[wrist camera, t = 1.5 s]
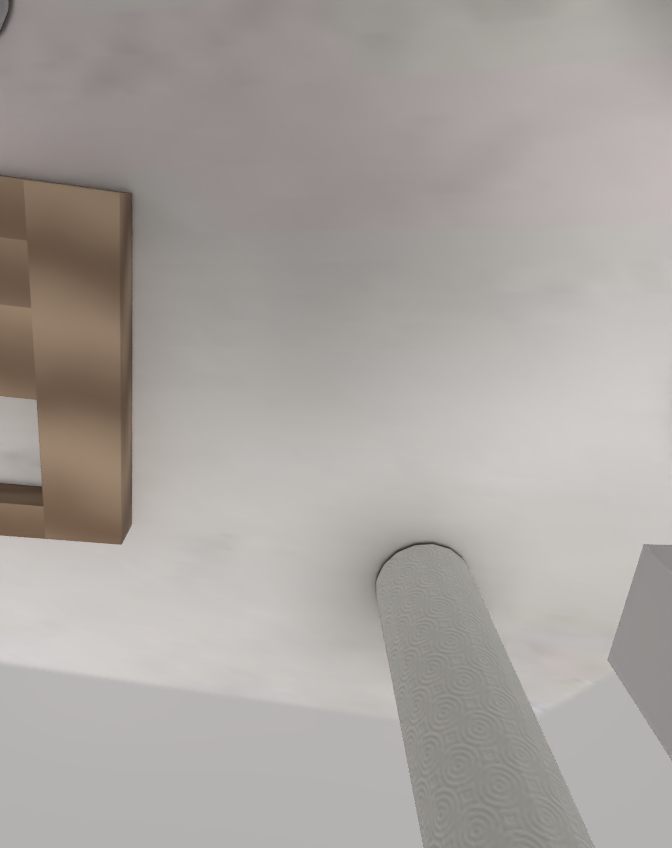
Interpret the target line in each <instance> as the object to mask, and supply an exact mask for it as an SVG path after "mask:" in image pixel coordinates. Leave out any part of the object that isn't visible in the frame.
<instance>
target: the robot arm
mask: <svg viewBox="0 0 672 848" xmlns="http://www.w3.org/2000/svg"><path fill="white" fill-rule="evenodd" d="M608 661H609V663H610V665H611V666H612V668H613V669H614V671H615V672H616V674H617V675H618V677H619V679H620V680H621V682H622V683H623V685H624V686H625V688H626V690H627V691H628V693H629V694H630V695H631V697H632V699H633V700H634V702H635V704H636V705H637V706H638V708H639V710H640V711H641V713H642V714H643V716H644V717H645V719H646V721H647V722H648V724H649V726H650V727H651V729H652V730H653V732H654V733H655V735H656V736H657V738H658V740H659V741H660V743H661V744H662V746H663V747H664V749H665V750H666V752H667V754H668V755H669V757H670V758H671V760H672V545H649V544H644V546H643V549H642V552H641V555H640V558H639V561H638V565H637V568H636V571H635V574H634V577H633V580H632V584H631V587H630V590H629V593H628V596H627V600H626V603H625V606H624V609H623V612H622V615H621V619H620V622H619V625H618V628H617V631H616V634H615V638H614V641H613V644H612V647H611V650H610V654H609V657H608Z"/></svg>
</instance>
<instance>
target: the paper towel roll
mask: <svg viewBox="0 0 672 848" xmlns="http://www.w3.org/2000/svg"><path fill="white" fill-rule="evenodd" d="M376 599H377V604H378V609H379V614H380V620H381V625H382V630H383V636H384V641H385V646H386V651H387V657H388V662H389V667H390V673H391V678H392V683H393V688H394V694H395V699H396V704H397V710H398V715H399V720H400V725H401V731H402V735H403V741H404V746H405V752H406V756H407V762H408V768H409V773H410V778H411V784H412V789H413V794H414V799H415V804H416V810H417V815H418V821H419V825H420V831H421V836H422V842H423V847H424V848H595V846H594V844H593V842H592V840H591V838H590V835H589V833H588V831H587V829H586V827H585V824H584V822H583V820H582V818H581V816H580V813H579V811H578V809H577V807H576V805H575V803H574V800H573V798H572V796H571V794H570V791H569V789H568V787H567V785H566V782H565V780H564V778H563V776H562V774H561V771H560V769H559V767H558V765H557V763H556V760H555V758H554V756H553V754H552V752H551V749H550V747H549V745H548V743H547V741H546V738H545V736H544V734H543V732H542V730H541V727H540V725H539V723H538V721H537V718H536V716H535V714H534V712H533V710H532V707H531V705H530V703H529V701H528V699H527V696H526V694H525V692H524V690H523V688H522V685H521V683H520V681H519V679H518V677H517V674H516V672H515V670H514V668H513V666H512V663H511V661H510V659H509V657H508V655H507V652H506V650H505V648H504V646H503V643H502V641H501V639H500V637H499V635H498V632H497V630H496V628H495V626H494V624H493V621H492V619H491V617H490V615H489V613H488V610H487V608H486V606H485V604H484V602H483V599H482V597H481V595H480V593H479V591H478V588H477V586H476V584H475V582H474V580H473V577H472V575H471V573H470V571H469V568H468V566H467V564H466V562H465V561H464V560H463V559H462V558H461V557H459V556H458V555H457V554H456V553H455V552H453V551H452V550H451V549H448V548H445V547H442V546H438V545H435V544H427V545H414V546H412V547H409V548H407V549H405V550H402V551H400V552H397V553H396V554H395V555H394V556H393V557H392V558H391V559H390V560H388V561H387V562H386V563H385V564H384V565H383V567H382V570H381V572H380V574H379V576H378V578H377V581H376Z"/></svg>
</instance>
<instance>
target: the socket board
mask: <svg viewBox="0 0 672 848" xmlns="http://www.w3.org/2000/svg"><path fill="white" fill-rule="evenodd" d="M0 396H6V397H16V398H25V399H35V400H37V410H38V426H39V443H40V459H41V475H42V487H35V486H23V485H11V484H0V535H4V536H17V537H30V538H43V539H56V540H69V541H82V542H95V543H108V544H122V543H123V541H124V539H125V537H126V535H127V533H128V531H129V529H130V527H131V525H132V193H125V192H118V191H111V190H103V189H96V188H89V187H82V186H74V185H67V184H60V183H53V182H45V181H38V180H31V179H23V178H16V177H9V176H2V175H0Z"/></svg>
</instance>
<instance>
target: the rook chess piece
mask: <svg viewBox="0 0 672 848" xmlns="http://www.w3.org/2000/svg"><path fill="white" fill-rule="evenodd" d="M7 13H8V0H0V29H1V27H2V25H3V22H4V20H5V17H6V15H7Z"/></svg>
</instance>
